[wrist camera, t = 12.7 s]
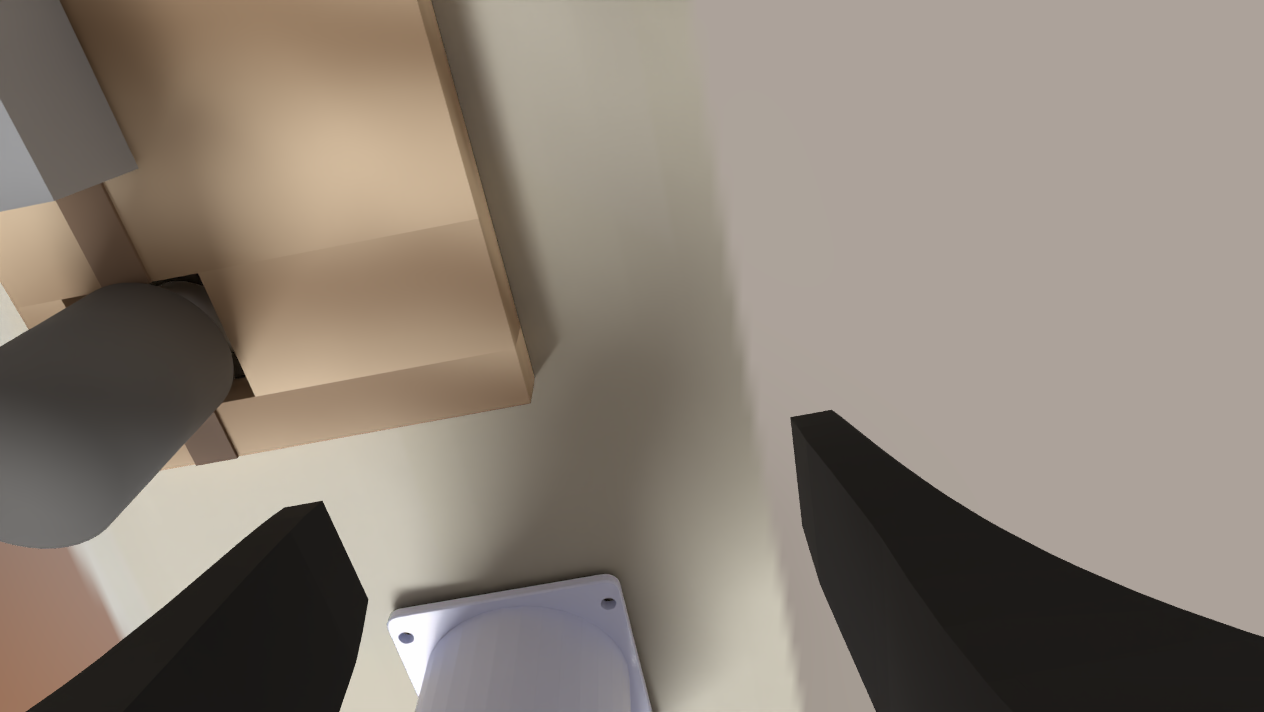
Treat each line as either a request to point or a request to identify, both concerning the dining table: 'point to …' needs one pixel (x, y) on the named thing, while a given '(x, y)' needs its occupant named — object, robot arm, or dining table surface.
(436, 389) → the plank
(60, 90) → the block
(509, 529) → the dining table surface
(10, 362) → the dark grey piece
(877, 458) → the robot arm
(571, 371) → the dining table surface
